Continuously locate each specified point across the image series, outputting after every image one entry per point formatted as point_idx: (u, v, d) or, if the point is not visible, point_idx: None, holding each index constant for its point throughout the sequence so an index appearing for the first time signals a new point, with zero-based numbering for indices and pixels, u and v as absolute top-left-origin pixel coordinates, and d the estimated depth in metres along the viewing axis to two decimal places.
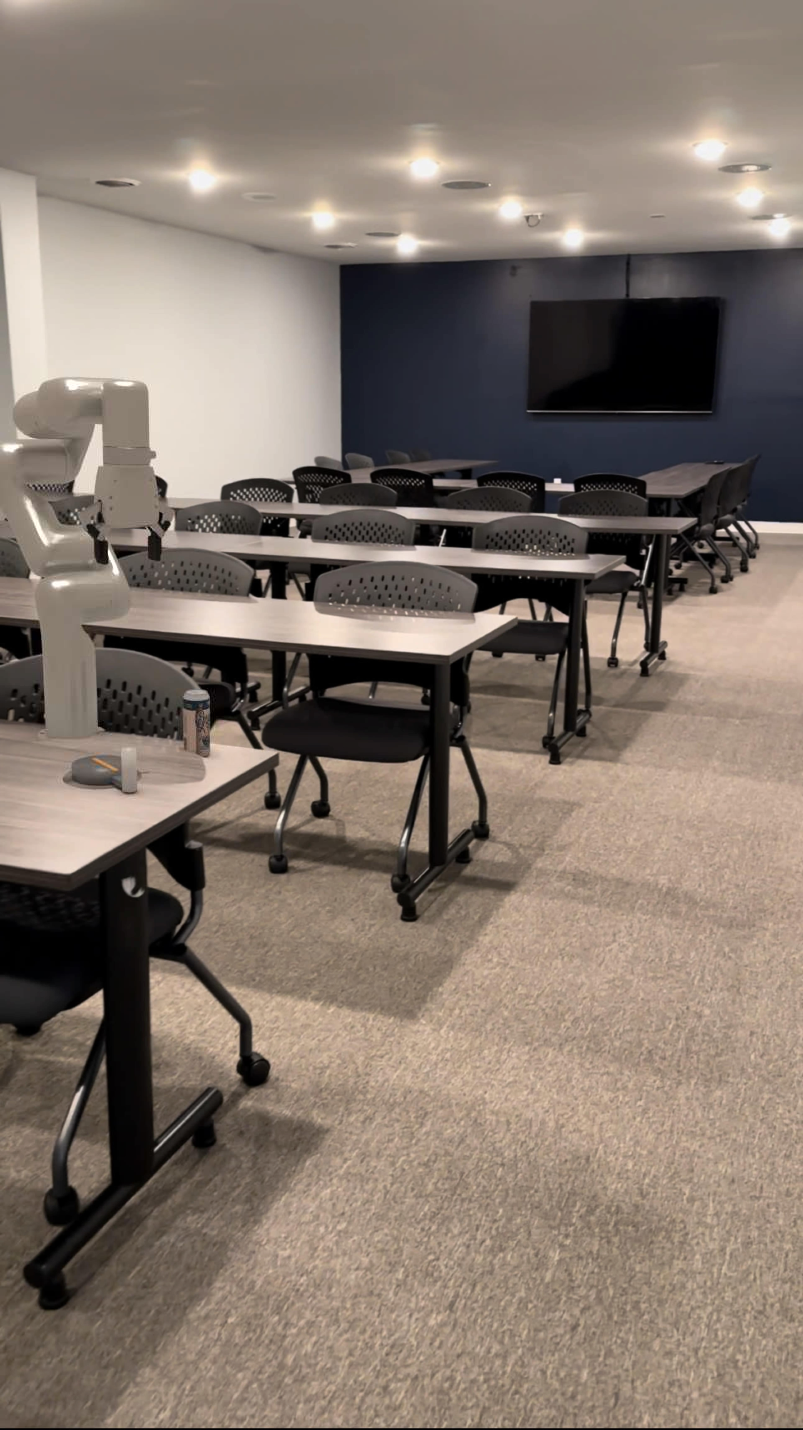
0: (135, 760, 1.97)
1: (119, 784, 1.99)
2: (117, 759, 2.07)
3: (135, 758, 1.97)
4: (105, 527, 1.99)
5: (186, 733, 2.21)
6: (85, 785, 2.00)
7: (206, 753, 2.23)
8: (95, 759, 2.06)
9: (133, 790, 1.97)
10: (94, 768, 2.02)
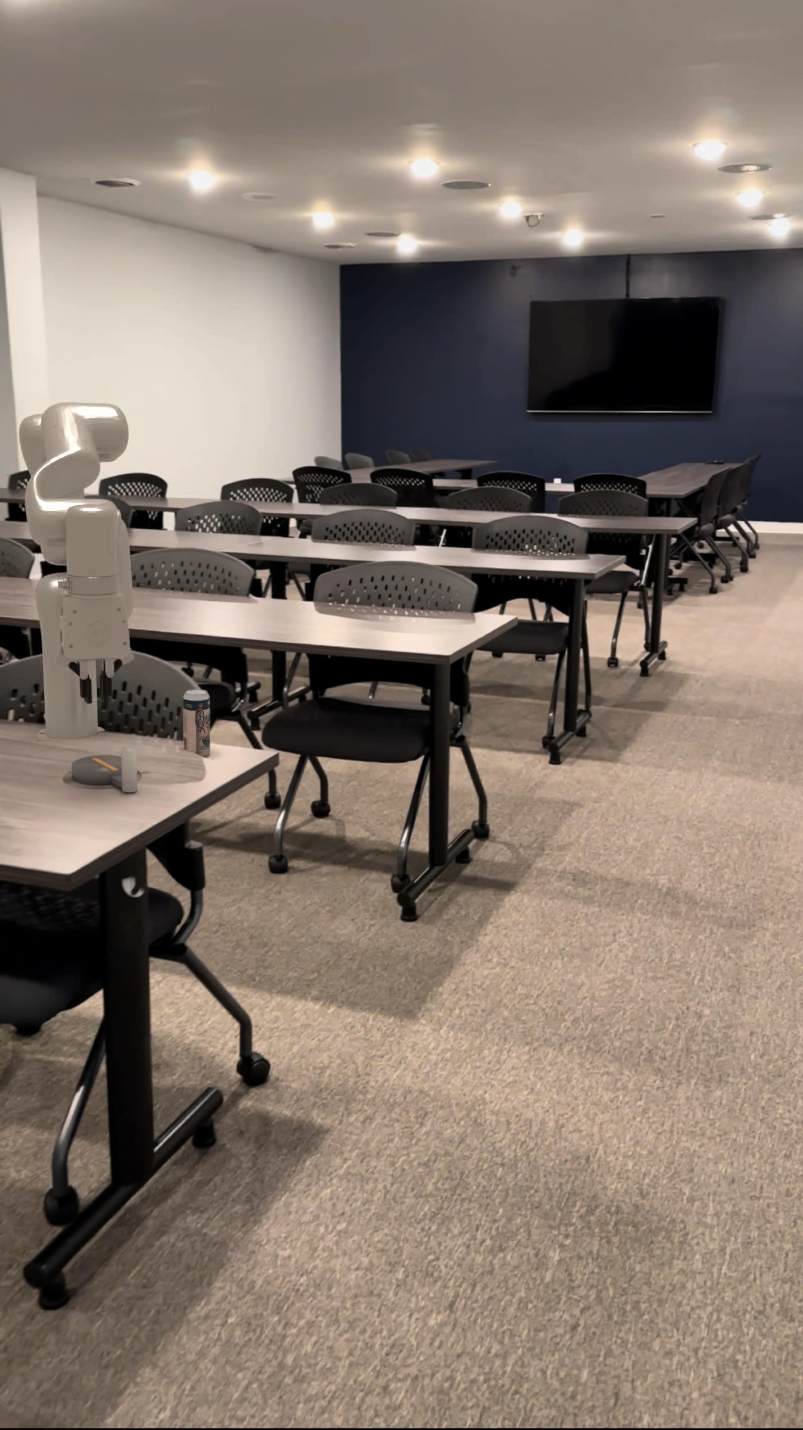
0: (135, 760, 1.97)
1: (119, 784, 1.99)
2: (117, 759, 2.07)
3: (135, 758, 1.97)
4: None
5: (186, 733, 2.21)
6: (85, 785, 2.00)
7: (206, 753, 2.23)
8: (95, 759, 2.06)
9: (133, 790, 1.97)
10: (94, 768, 2.02)
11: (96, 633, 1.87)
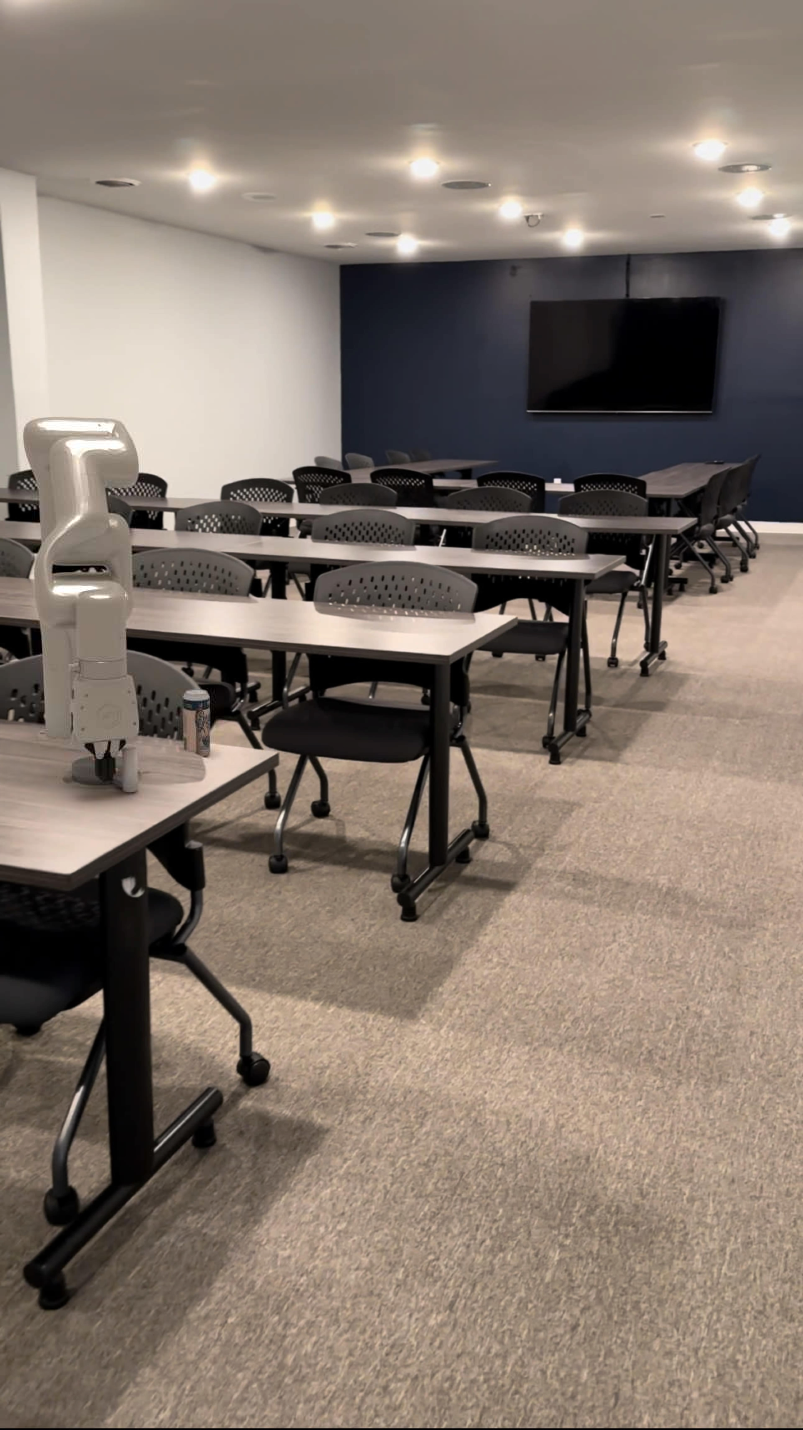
0: (136, 760, 1.97)
1: (120, 784, 1.99)
2: (117, 759, 2.07)
3: (136, 758, 1.97)
4: None
5: (186, 733, 2.21)
6: (85, 785, 2.00)
7: (206, 753, 2.23)
8: None
9: (134, 790, 1.98)
10: (94, 768, 2.02)
11: (107, 715, 1.91)
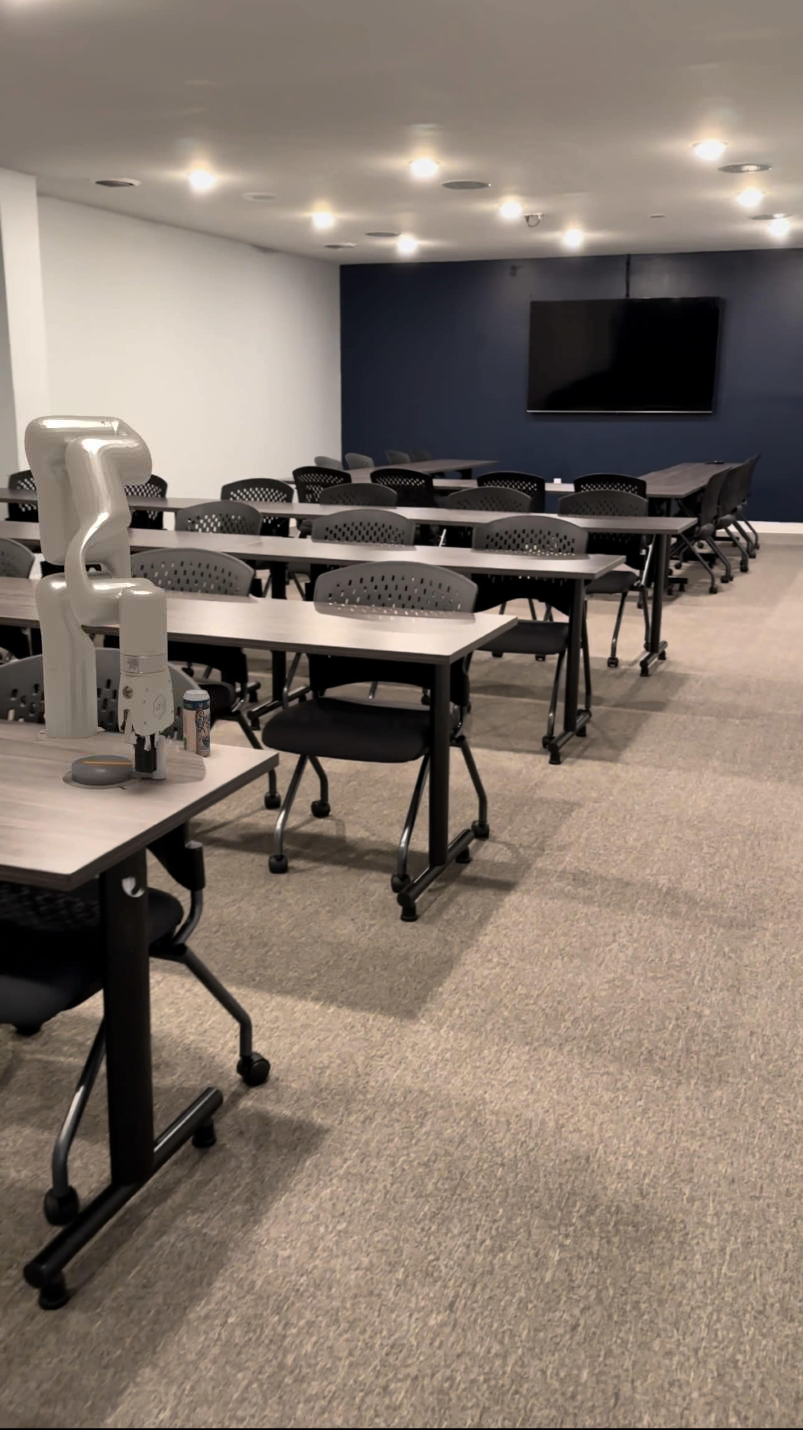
0: None
1: (147, 774, 2.04)
2: (102, 758, 2.08)
3: None
4: None
5: (186, 733, 2.21)
6: (85, 785, 2.00)
7: (206, 753, 2.23)
8: (88, 762, 2.05)
9: (165, 775, 2.05)
10: (109, 768, 2.03)
11: (159, 706, 1.97)
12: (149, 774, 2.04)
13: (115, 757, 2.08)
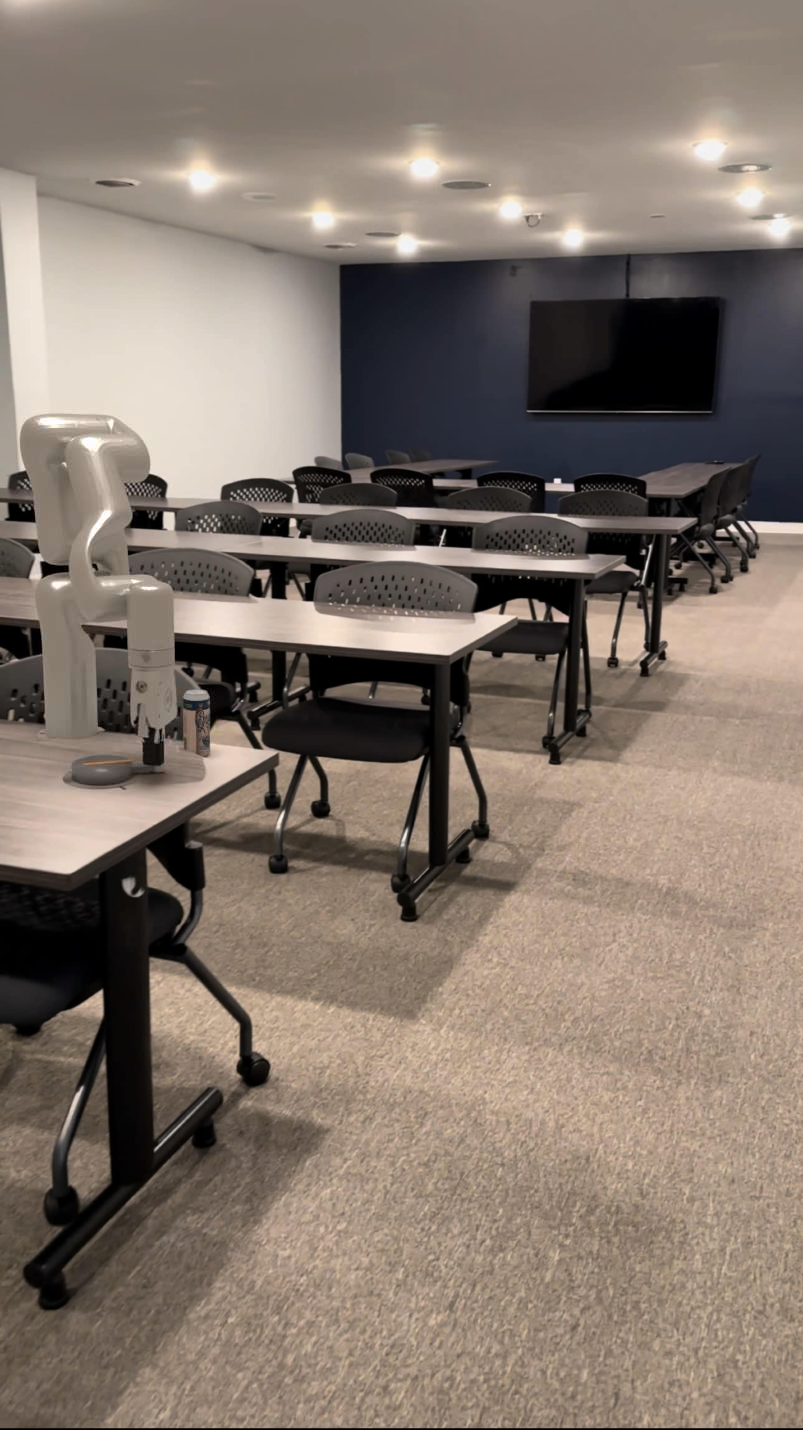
0: None
1: (149, 769, 2.07)
2: (93, 758, 2.07)
3: None
4: None
5: (186, 733, 2.21)
6: (85, 785, 2.00)
7: (206, 753, 2.23)
8: (88, 764, 2.04)
9: (165, 768, 2.10)
10: (115, 766, 2.03)
11: (168, 699, 2.01)
12: (151, 768, 2.08)
13: (106, 756, 2.09)
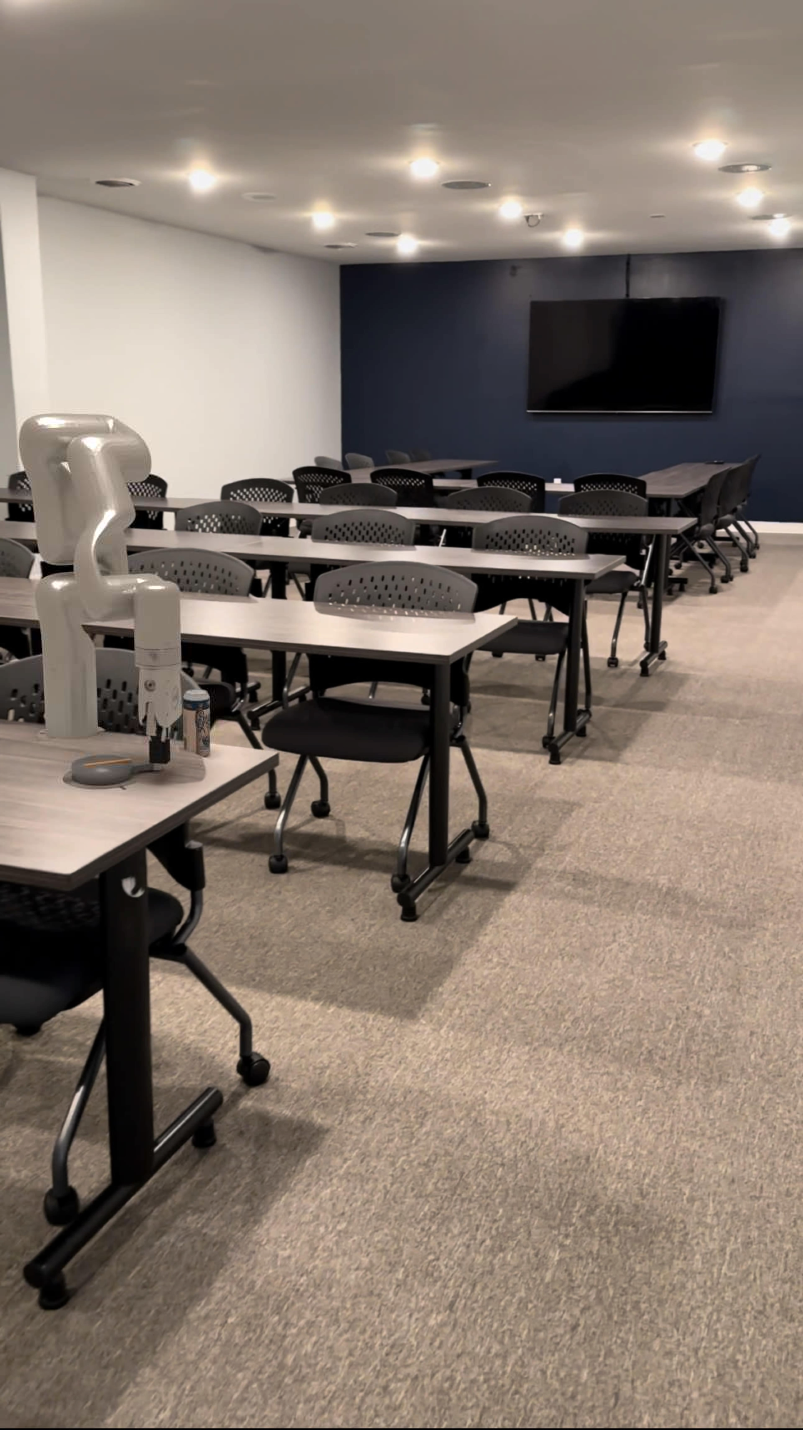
0: None
1: (148, 767, 2.08)
2: (91, 759, 2.07)
3: None
4: None
5: (186, 733, 2.21)
6: (85, 785, 2.00)
7: (206, 753, 2.23)
8: (89, 764, 2.04)
9: None
10: (117, 766, 2.04)
11: (175, 698, 2.02)
12: (150, 766, 2.08)
13: (103, 756, 2.09)
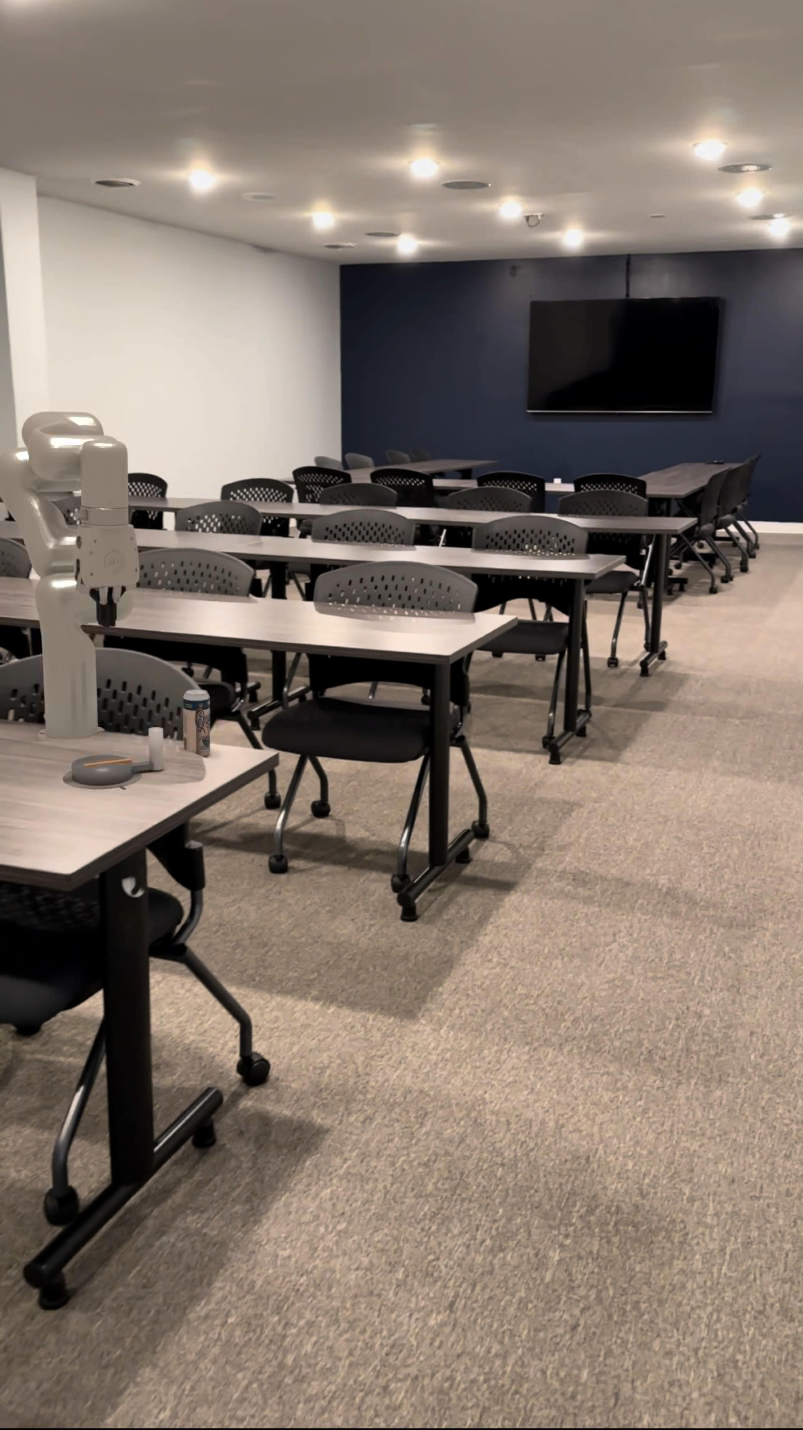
0: None
1: (148, 767, 2.08)
2: (91, 759, 2.07)
3: None
4: (111, 587, 2.06)
5: (186, 733, 2.21)
6: (85, 785, 2.00)
7: (206, 753, 2.23)
8: (89, 764, 2.04)
9: None
10: (117, 766, 2.04)
11: (113, 561, 2.00)
12: (150, 766, 2.08)
13: (103, 756, 2.09)
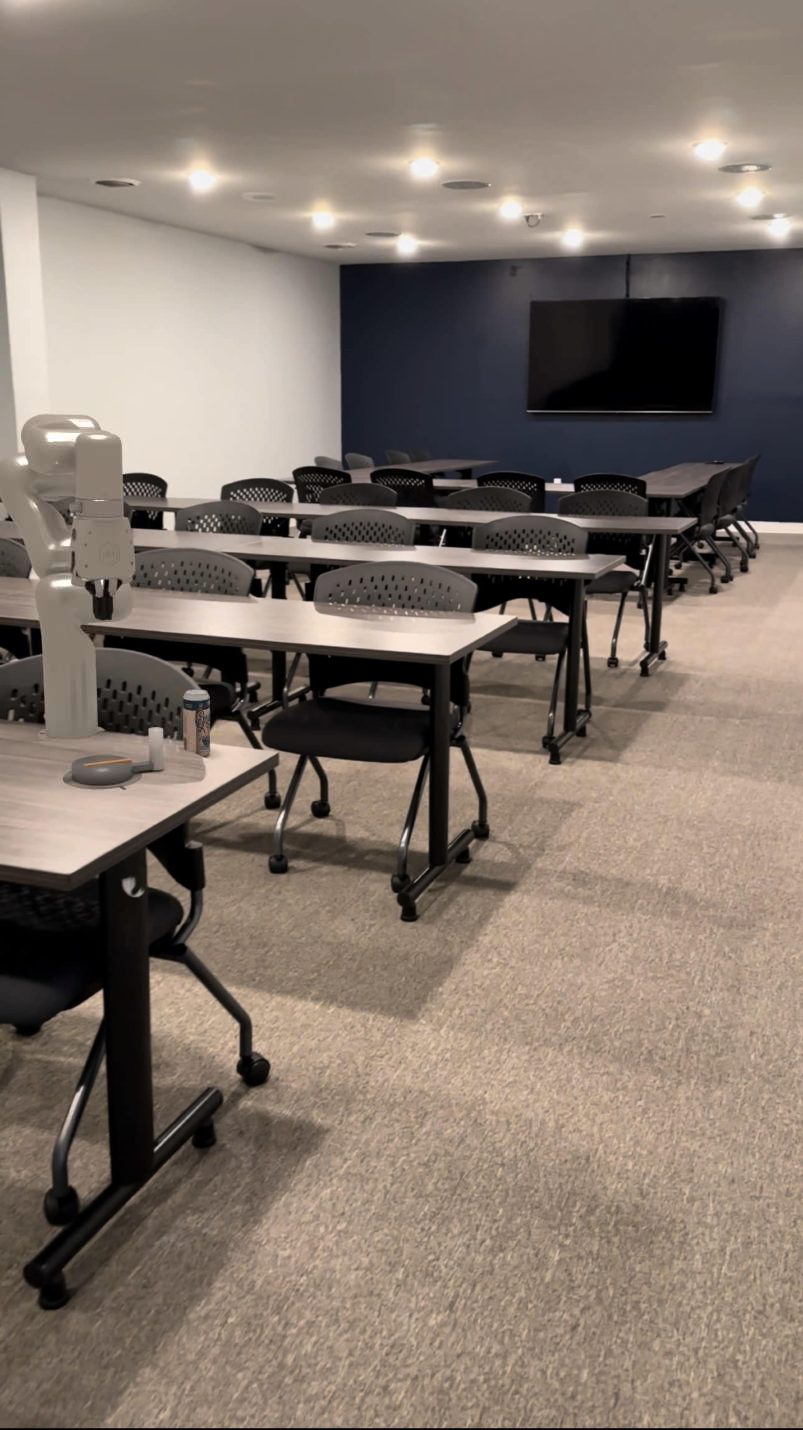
0: None
1: (148, 767, 2.08)
2: (91, 759, 2.07)
3: None
4: None
5: (186, 733, 2.21)
6: (85, 785, 2.00)
7: (206, 753, 2.23)
8: (89, 764, 2.04)
9: None
10: (117, 766, 2.04)
11: (108, 553, 2.01)
12: (150, 766, 2.08)
13: (103, 756, 2.09)
